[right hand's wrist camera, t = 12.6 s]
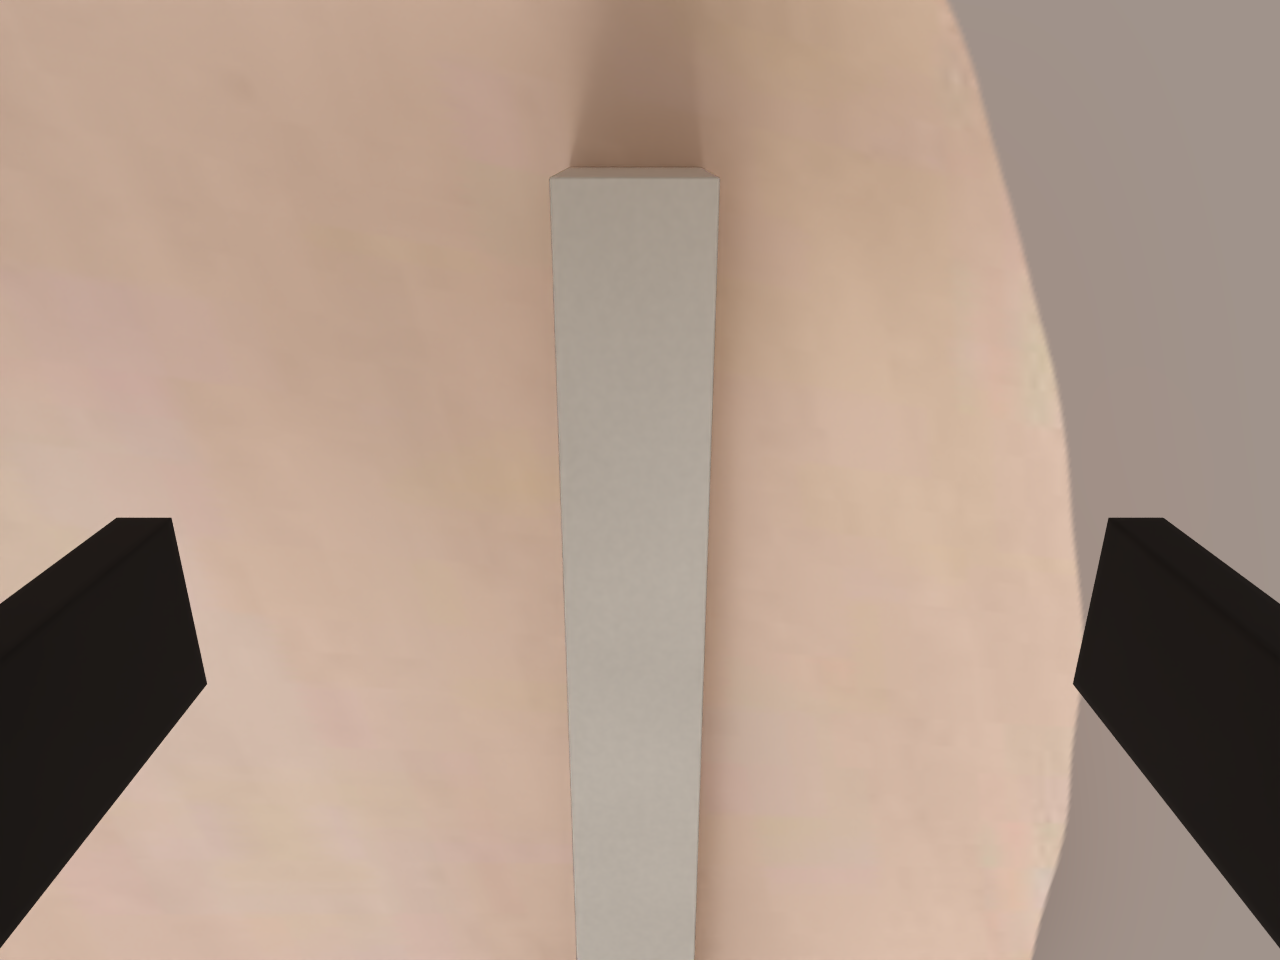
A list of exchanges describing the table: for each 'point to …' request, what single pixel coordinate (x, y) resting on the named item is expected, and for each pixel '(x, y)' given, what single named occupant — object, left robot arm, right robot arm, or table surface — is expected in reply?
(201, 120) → the table surface
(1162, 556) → the right robot arm
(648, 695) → the beam
